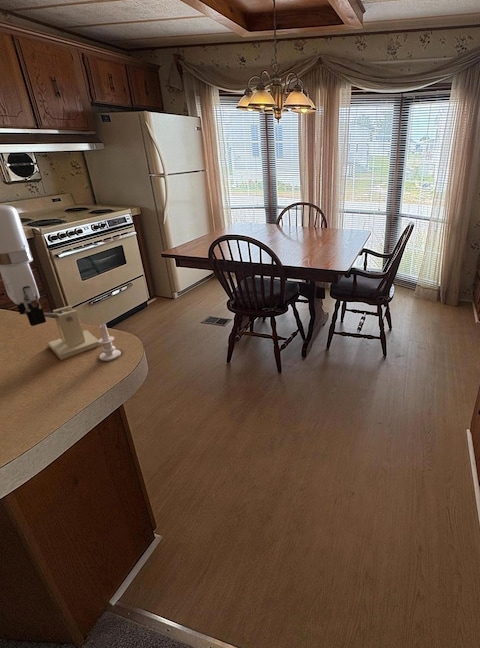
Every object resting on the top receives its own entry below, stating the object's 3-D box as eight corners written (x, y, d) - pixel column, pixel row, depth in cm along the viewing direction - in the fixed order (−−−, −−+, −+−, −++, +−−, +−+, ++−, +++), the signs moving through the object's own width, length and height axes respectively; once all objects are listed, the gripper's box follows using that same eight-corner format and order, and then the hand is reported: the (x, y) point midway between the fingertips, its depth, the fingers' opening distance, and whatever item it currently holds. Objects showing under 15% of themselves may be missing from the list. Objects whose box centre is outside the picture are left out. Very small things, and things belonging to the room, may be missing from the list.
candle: (105, 363, 94) (97, 330, 90) (95, 357, 96) (87, 324, 92) (124, 354, 98) (117, 322, 94) (114, 348, 100) (106, 317, 96)
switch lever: (30, 321, 88) (32, 312, 88) (23, 314, 92) (25, 306, 92) (74, 323, 97) (77, 315, 96) (67, 317, 100) (69, 309, 100)
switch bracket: (61, 359, 94) (49, 322, 90) (49, 346, 100) (37, 310, 96) (100, 345, 102) (91, 309, 97) (87, 334, 107) (78, 300, 103)
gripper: (-17, 253, 86) (6, 313, 93) (0, 268, 77) (24, 334, 83) (21, 247, 92) (40, 304, 99) (41, 260, 82) (60, 323, 89)
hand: (33, 318), depth 91 cm, fingers open, 9 cm apart
